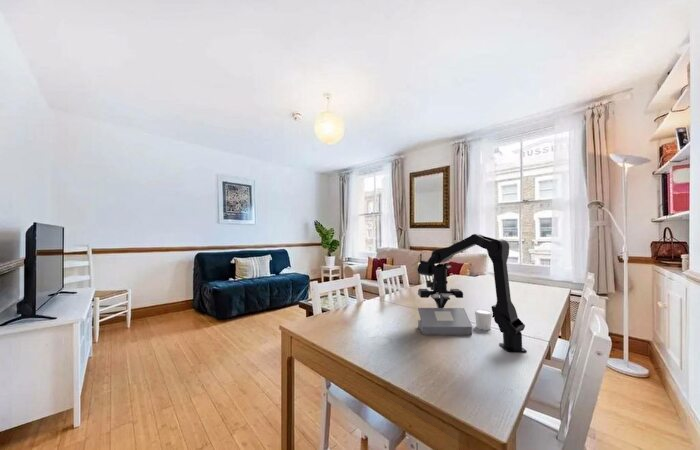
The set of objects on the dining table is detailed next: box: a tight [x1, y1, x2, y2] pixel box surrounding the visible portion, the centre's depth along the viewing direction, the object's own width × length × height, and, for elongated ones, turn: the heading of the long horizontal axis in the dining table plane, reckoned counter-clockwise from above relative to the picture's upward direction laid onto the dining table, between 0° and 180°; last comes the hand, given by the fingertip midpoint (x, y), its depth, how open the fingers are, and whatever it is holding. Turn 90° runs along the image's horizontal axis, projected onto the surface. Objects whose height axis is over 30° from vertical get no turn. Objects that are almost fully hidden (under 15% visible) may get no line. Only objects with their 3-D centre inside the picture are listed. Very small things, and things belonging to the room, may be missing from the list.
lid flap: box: [417, 307, 473, 329], centre depth 115 cm, size 10×20×1 cm, turn 89°
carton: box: [417, 319, 473, 336], centre depth 115 cm, size 9×20×3 cm, turn 89°
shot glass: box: [474, 309, 493, 331], centre depth 119 cm, size 7×7×7 cm
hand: (440, 312), depth 120 cm, fingers closed, pressing on lid flap
